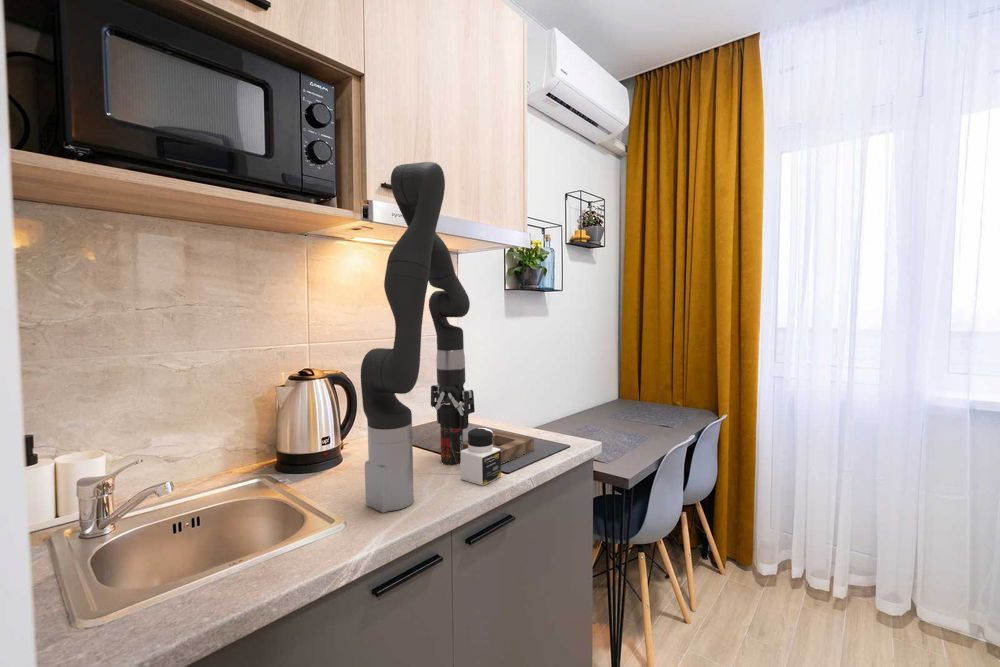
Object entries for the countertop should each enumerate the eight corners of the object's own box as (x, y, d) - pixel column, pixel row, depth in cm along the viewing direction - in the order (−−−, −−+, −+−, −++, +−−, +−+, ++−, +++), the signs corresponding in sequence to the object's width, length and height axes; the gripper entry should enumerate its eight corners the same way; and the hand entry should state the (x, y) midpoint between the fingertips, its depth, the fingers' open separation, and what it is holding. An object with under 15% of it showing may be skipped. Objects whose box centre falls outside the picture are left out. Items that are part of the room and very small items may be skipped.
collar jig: (498, 466, 123) (498, 452, 122) (459, 455, 131) (459, 442, 131) (534, 450, 135) (533, 438, 135) (496, 441, 144) (496, 430, 143)
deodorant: (443, 457, 129) (441, 404, 128) (464, 457, 129) (463, 404, 128) (439, 465, 123) (438, 409, 122) (461, 465, 123) (460, 409, 122)
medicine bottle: (483, 486, 109) (482, 435, 108) (460, 479, 114) (459, 430, 113) (501, 477, 115) (501, 428, 114) (479, 470, 119) (478, 424, 118)
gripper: (422, 365, 126) (424, 424, 127) (460, 370, 117) (461, 434, 118) (442, 362, 132) (444, 418, 133) (480, 366, 123) (481, 427, 124)
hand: (452, 425), depth 126 cm, fingers open, 8 cm apart
